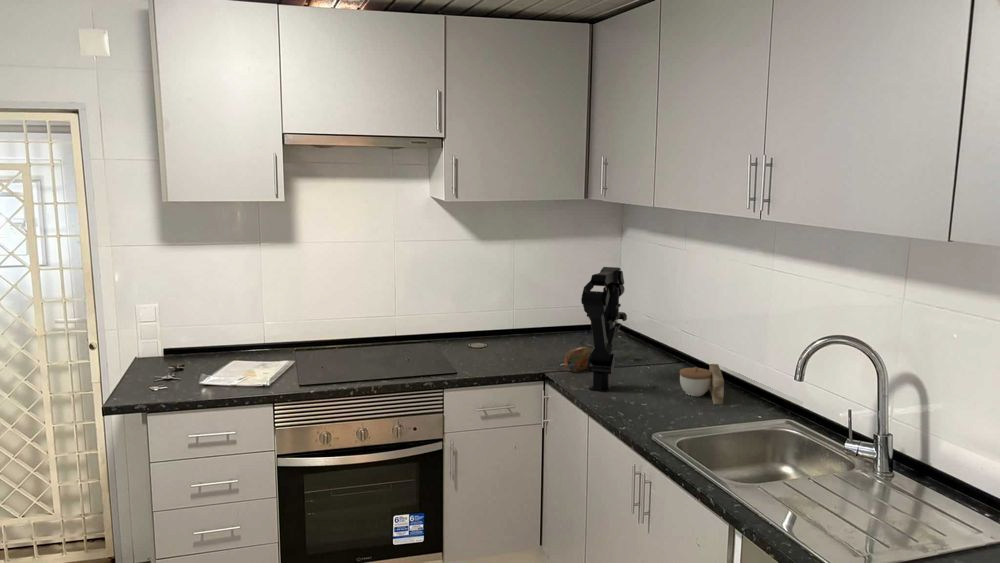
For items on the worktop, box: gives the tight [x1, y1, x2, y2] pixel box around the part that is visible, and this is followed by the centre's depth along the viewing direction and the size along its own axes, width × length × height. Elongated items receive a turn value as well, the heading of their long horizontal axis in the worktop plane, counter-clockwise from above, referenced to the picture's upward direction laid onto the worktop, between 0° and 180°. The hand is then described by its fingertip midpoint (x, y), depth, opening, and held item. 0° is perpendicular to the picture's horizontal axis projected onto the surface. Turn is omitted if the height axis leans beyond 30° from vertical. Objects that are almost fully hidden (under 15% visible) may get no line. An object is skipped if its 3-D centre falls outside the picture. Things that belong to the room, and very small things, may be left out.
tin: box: [563, 346, 593, 373], centre depth 284 cm, size 15×3×8 cm, turn 129°
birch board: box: [708, 363, 725, 405], centre depth 253 cm, size 3×20×8 cm, turn 169°
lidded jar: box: [679, 366, 712, 397], centre depth 254 cm, size 11×11×9 cm
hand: (610, 343), depth 272 cm, fingers closed
